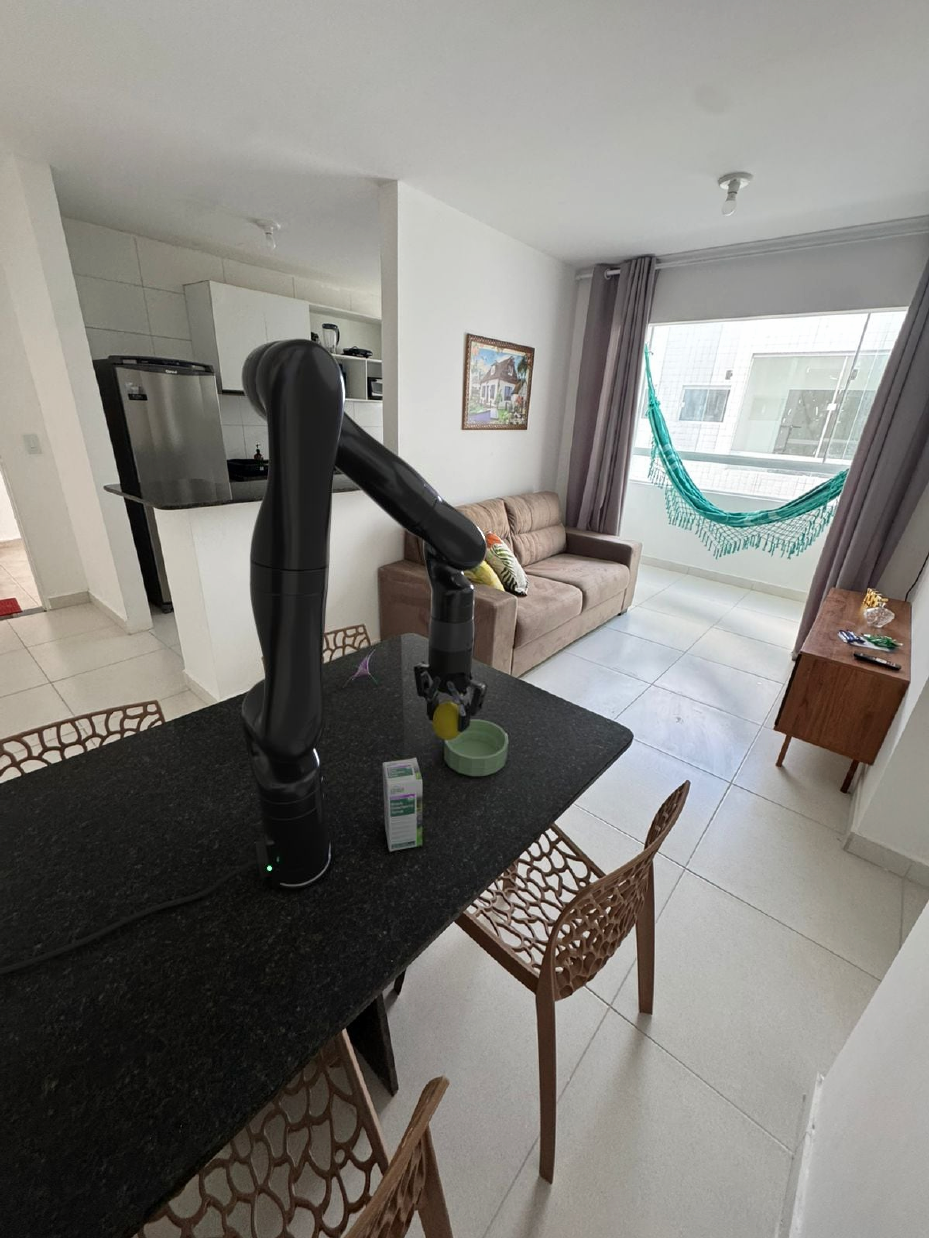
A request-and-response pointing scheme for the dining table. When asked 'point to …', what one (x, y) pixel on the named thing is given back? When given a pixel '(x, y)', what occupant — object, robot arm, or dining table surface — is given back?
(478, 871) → the dining table surface
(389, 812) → the syrup box
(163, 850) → the dining table surface
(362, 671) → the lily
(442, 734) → the lemon
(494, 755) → the bowl
